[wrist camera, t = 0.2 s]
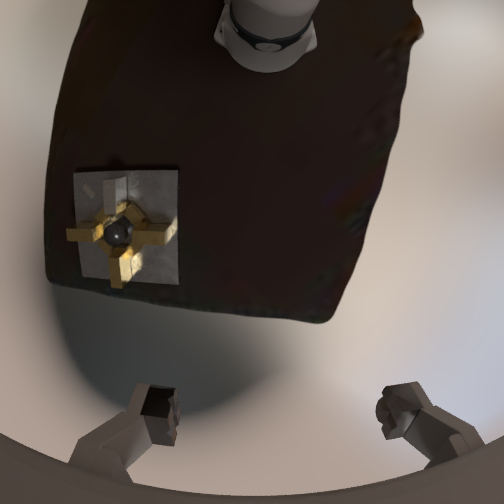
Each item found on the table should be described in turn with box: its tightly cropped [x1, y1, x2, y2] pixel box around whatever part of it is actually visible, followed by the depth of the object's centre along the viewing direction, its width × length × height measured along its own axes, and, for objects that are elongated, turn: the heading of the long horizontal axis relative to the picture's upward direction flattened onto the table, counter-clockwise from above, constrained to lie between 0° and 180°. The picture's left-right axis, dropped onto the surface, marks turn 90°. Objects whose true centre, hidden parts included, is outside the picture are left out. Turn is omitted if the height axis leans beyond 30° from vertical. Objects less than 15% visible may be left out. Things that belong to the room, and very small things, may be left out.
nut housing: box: [74, 169, 181, 285], centre depth 52 cm, size 22×22×7 cm
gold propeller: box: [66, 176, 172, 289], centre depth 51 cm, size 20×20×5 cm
